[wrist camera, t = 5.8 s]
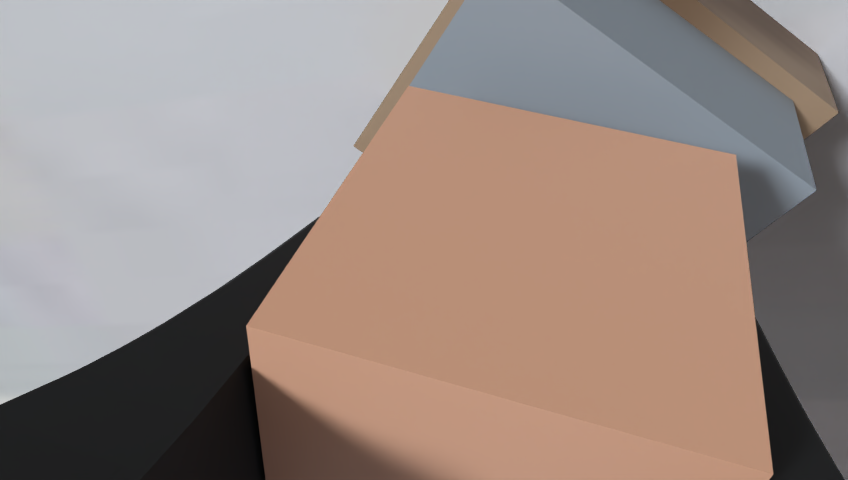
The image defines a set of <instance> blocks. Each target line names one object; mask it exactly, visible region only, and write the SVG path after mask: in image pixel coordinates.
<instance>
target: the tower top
mask: <svg viewBox="0 0 848 480" xmlns="http://www.w3.org/2000/svg"><path fill="white" fill-rule="evenodd" d="M409 86H412V87H417V88H422V89H426V90H431V91H436V92H441V93H445V94H450V95H455V96H460V97H464V98H469V99H474V100H479V101H483V102H488V103H493V104H497V105H502V106H507V107H512V108H516V109H521V110H526V111H531V112H535V113H540V114H545V115H550V116H554V117H559V118H564V119H569V120H573V121H578V122H583V123H588V124H592V125H597V126H602V127H607V128H611V129H616V130H621V131H626V132H630V133H635V134H640V135H645V136H649V137H654V138H659V139H664V140H668V141H673V142H678V143H683V144H687V145H692V146H697V147H702V148H706V149H711V150H716V151H720V152H725V153H730V154H735V155H736V159H737V168H738V176H739V185H740V193H741V202H742V210H743V219H744V227H745V236H746V242H747V241H748V240H750V239H751V238H752V237H754V236H755V235H757V234H758V233H759V232H761V231H762V230H763V229H765V228H766V227H767V226H769V225H770V224H772V223H773V222H774V221H776V220H777V219H778V218H780V217H781V216H782V215H784V214H785V213H786V212H788V211H789V210H791V209H792V208H793V207H795V206H796V205H797V204H799V203H800V202H801V201H803V200H804V199H805V198H807V197H808V196H810V195H811V194H812V193H814V192H815V191H816V186H815V182H814V178H813V175H812V171H811V167H810V163H809V159H808V156H807V152H806V148H805V144H804V140H803V136H802V133H801V129H800V125H799V121H798V117H797V114H796V110H795V106H794V102H793V100H791V99H790V98H789V97H787V96H786V95H785V94H783V93H782V92H781V91H779V90H778V89H777V88H775V87H774V86H773V85H771V84H770V83H769V82H767V81H766V80H765V79H763V78H762V77H761V76H759V75H758V74H757V73H755V72H754V71H753V70H751V69H750V68H749V67H747V66H746V65H745V64H743V63H742V62H741V61H739V60H738V59H737V58H735V57H734V56H733V55H732V54H730V53H729V52H728V51H726V50H725V49H724V48H722V47H721V46H720V45H718V44H717V43H716V42H714V41H713V40H712V39H710V38H709V37H708V36H706V35H705V34H704V33H702V32H701V31H700V30H698V29H697V28H696V27H694V26H693V25H692V24H690V23H689V22H688V21H686V20H685V19H684V18H682V17H681V16H680V15H678V14H677V13H676V12H674V11H673V10H672V9H670V8H669V7H668V6H666V5H665V4H664V3H662V2H661V1H660V0H464V2H463V3H462V5H461V7H460V8H459V10H458V11H457V13H456V14H455V16H454V17H453V19H452V20H451V22H450V24H449V25H448V27H447V28H446V30H445V31H444V33H443V34H442V36H441V37H440V39H439V40H438V42H437V44H436V45H435V47H434V48H433V50H432V51H431V53H430V54H429V56H428V57H427V59H426V61H425V62H424V64H423V65H422V67H421V68H420V70H419V71H418V73H417V74H416V76H415V78H414V79H413V81H412V82H411V84H410V85H409Z"/></svg>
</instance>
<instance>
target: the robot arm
mask: <svg viewBox="0 0 848 480" xmlns="http://www.w3.org/2000/svg"><path fill="white" fill-rule="evenodd" d="M318 219H319V217H318V218H317V219H315V220H314V221H313V222H311V223H310V224H309V225H307V226H306V227H305V228H303V229H302V230H301V231H299V232H298V233H297V234H295V235H294V236H293V237H291V238H290V239H288V240H287V241H286V242H284V243H283V244H282V245H280V246H279V247H278V248H276V249H275V250H273V251H272V252H271V253H269V254H268V255H267V256H265V257H264V258H262V259H261V260H259V261H258V262H257V263H255V264H254V265H252V266H251V267H249V268H248V269H246V270H245V271H243V272H242V273H241V274H239V275H238V276H236V277H235V278H233V279H232V280H230V281H229V282H228V283H226V284H225V285H223V286H222V287H220V288H219V289H217V290H216V291H214V292H213V293H211V294H209V295H208V296H206V297H205V298H203V299H201V300H200V301H198V302H197V303H195V304H193V305H192V306H190V307H189V308H187V309H185V310H184V311H182V312H181V313H179V314H177V315H176V316H174V317H173V318H171V319H169V320H168V321H166V322H165V323H163V324H161V325H160V326H158V327H156V328H154V329H153V330H151V331H149V332H147V333H146V334H144V335H142V336H140V337H139V338H137V339H135V340H133V341H132V342H130V343H128V344H126V345H124V346H122V347H121V348H119V349H117V350H115V351H113V352H111V353H109V354H107V355H105V356H104V357H102V358H100V359H98V360H96V361H94V362H92V363H90V364H88V365H86V366H84V367H82V368H80V369H78V370H76V371H74V372H72V373H70V374H68V375H66V376H63V377H61V378H59V379H57V380H55V381H52V382H50V383H48V384H46V385H43V386H41V387H39V388H37V389H34V390H32V391H30V392H28V393H26V394H23V395H21V396H19V397H17V398H14V399H12V400H10V401H8V402H5V403H3V404H1V405H0V480H266V479H265V472H264V464H263V456H262V448H261V440H260V432H259V424H258V416H257V408H256V400H255V392H254V384H253V376H252V368H251V360H250V352H249V344H248V336H247V328H246V325H247V324H248V322H249V321H250V319H251V318H252V316H253V315H254V313H255V312H256V310H257V309H258V308H259V306H260V305H261V303H262V302H263V300H264V299H265V297H266V296H267V294H268V293H269V291H270V290H271V288H272V287H273V285H274V284H275V282H276V281H277V279H278V278H279V276H280V275H281V273H282V272H283V271H284V269H285V268H286V266H287V265H288V263H289V262H290V260H291V259H292V257H293V256H294V254H295V253H296V251H297V250H298V248H299V247H300V245H301V244H302V242H303V241H304V239H305V238H306V236H307V235H308V234H309V232H310V231H311V229H312V228H313V226H314V225H315V223H316V222H317V220H318ZM755 321H756V330H757V338H758V347H759V356H760V364H761V373H762V381H763V390H764V398H765V407H766V415H767V424H768V432H769V441H770V450H771V458H772V467H773V475H772V477H771V478H770V479H769V480H844V478H843V476H842V475H841V473H840V471H839V470H838V468H837V467H836V465H835V463H834V461H833V460H832V458H831V456H830V454H829V453H828V451H827V449H826V448H825V446H824V444H823V442H822V441H821V439H820V437H819V435H818V434H817V432H816V430H815V429H814V427H813V425H812V423H811V422H810V420H809V418H808V416H807V415H806V413H805V411H804V409H803V407H802V405H801V404H800V402H799V400H798V398H797V396H796V394H795V393H794V391H793V389H792V387H791V385H790V383H789V381H788V379H787V378H786V376H785V374H784V372H783V370H782V368H781V366H780V364H779V362H778V360H777V358H776V357H775V355H774V353H773V351H772V349H771V347H770V345H769V343H768V341H767V339H766V337H765V335H764V333H763V331H762V329H761V327H760V325H759V323H758V322H757V320H756V318H755Z"/></svg>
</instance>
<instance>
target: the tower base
mask: <svg viewBox="0 0 848 480" xmlns="http://www.w3.org/2000/svg"><path fill="white" fill-rule="evenodd" d="M660 1H661V2H662V3H664V4H665V5H666V6H668V7H669V8H670V9H672V10H673V11H674V12H676V13H677V14H678V15H680V16H681V17H682V18H684V19H685V20H686V21H688V22H689V23H690V24H692V25H693V26H694V27H696V28H697V29H698V30H700V31H701V32H702V33H704V34H705V35H706V36H708V37H709V38H710V39H712V40H713V41H714V42H716V43H717V44H718V45H720V46H721V47H722V48H724V49H725V50H726V51H728V52H729V53H730V54H732V55H733V56H734V57H735V58H737V59H738V60H739V61H741V62H742V63H743V64H745V65H746V66H747V67H749V68H750V69H751V70H753V71H754V72H755V73H757V74H758V75H759V76H761V77H762V78H763V79H765V80H766V81H767V82H769V83H770V84H771V85H773V86H774V87H775V88H777V89H778V90H779V91H781V92H782V93H783V94H785V95H786V96H787V97H789V98H790V99H791V100H793V102H794V106H795V110H796V114H797V117H798V121H799V125H800V129H801V133H802V136H803V140H805V139H806V138H807V137H808V136H810V135H811V134H812V133H814V132H815V131H816V130H817V129H819V128H820V127H821V126H823V125H824V124H825V123H826V122H828V121H829V120H830V119H832V118H833V117H834V116H835V115H837V114H838V113H839V112H838V109H837V106H836V103H835V101H834V98H833V95H832V92H831V90H830V87H829V84H828V81H827V79H826V76H825V73H824V70H823V68H822V65H821V62H820V59H819V57H818V54H817V53H815V52H814V51H813V50H812V49H810V48H809V47H808V46H807V45H805V44H804V43H803V42H802V41H800V40H799V39H798V38H797V37H795V36H794V35H793V34H792V33H791V32H789V31H788V30H787V29H786V28H784V27H783V26H782V25H781V24H779V23H778V22H777V21H776V20H774V19H773V18H772V17H771V16H769V15H768V14H767V13H766V12H764V11H763V10H762V9H761V8H759V7H758V6H757V5H756V4H754V3H753V2H752V1H751V0H660ZM463 2H464V0H449V1H448V3H447V4H446V6H445V7H444V9H443V10H442V12H441V14H440V15H439V17H438V18H437V20H436V21H435V23H434V24H433V26H432V27H431V29H430V30H429V32H428V33H427V35H426V36H425V38H424V39H423V41H422V42H421V44H420V45H419V47H418V49H417V50H416V52H415V53H414V55H413V56H412V58H411V59H410V61H409V62H408V64H407V65H406V67H405V68H404V70H403V71H402V73H401V74H400V76H399V77H398V79H397V80H396V82H395V84H394V85H393V87H392V88H391V90H390V91H389V93H388V94H387V96H386V97H385V99H384V100H383V102H382V103H381V105H380V106H379V108H378V109H377V111H376V112H375V114H374V115H373V117H372V118H371V120H370V122H369V123H368V125H367V126H366V128H365V129H364V131H363V132H362V134H361V135H360V137H359V138H358V140H357V141H356V143H355V144H354V147H356V148H357V149H358V150H360V151H361V152H364V151H365V149H366V148H367V146H368V145H369V143H370V142H371V140H372V139H373V137H374V136H375V134H376V133H377V131H378V130H379V128H380V127H381V125H382V124H383V122H384V121H385V120H386V118H387V117H388V115H389V114H390V112H391V111H392V109H393V108H394V106H395V105H396V103H397V102H398V100H399V99H400V97H401V96H402V94H403V93H404V91H405V90H406V88H407V87H408V86H409V85H410V84H411V82H412V81H413V79H414V78H415V76H416V74H417V73H418V71H419V70H420V68H421V67H422V65H423V64H424V62H425V61H426V59H427V57H428V56H429V54H430V53H431V51H432V50H433V48H434V47H435V45H436V44H437V42H438V40H439V39H440V37H441V36H442V34H443V33H444V31H445V30H446V28H447V27H448V25H449V24H450V22H451V20H452V19H453V17H454V16H455V14H456V13H457V11H458V10H459V8H460V7H461V5H462V3H463Z"/></svg>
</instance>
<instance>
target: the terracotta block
mask: <svg viewBox="0 0 848 480" xmlns="http://www.w3.org/2000/svg"><path fill="white" fill-rule="evenodd" d="M246 328H247V336H248V344H249V352H250V360H251V368H252V376H253V384H254V392H255V400H256V408H257V416H258V424H259V432H260V440H261V448H262V456H263V464H264V472H265V479H266V480H769V479H770V478H771V477H772V475H773V467H772V458H771V450H770V441H769V432H768V424H767V415H766V407H765V398H764V390H763V381H762V373H761V364H760V356H759V347H758V338H757V330H756V321H755V313H754V304H753V296H752V287H751V279H750V270H749V262H748V253H747V244H746V236H745V227H744V219H743V210H742V202H741V193H740V185H739V176H738V168H737V159H736V155H735V154H730V153H725V152H720V151H716V150H711V149H706V148H702V147H697V146H692V145H687V144H683V143H678V142H673V141H668V140H664V139H659V138H654V137H649V136H645V135H640V134H635V133H630V132H626V131H621V130H616V129H611V128H607V127H602V126H597V125H592V124H588V123H583V122H578V121H573V120H569V119H564V118H559V117H554V116H550V115H545V114H540V113H535V112H531V111H526V110H521V109H516V108H512V107H507V106H502V105H497V104H493V103H488V102H483V101H479V100H474V99H469V98H464V97H460V96H455V95H450V94H445V93H441V92H436V91H431V90H426V89H422V88H417V87H412V86H408V87H407V88H406V90H405V91H404V93H403V94H402V96H401V97H400V99H399V100H398V102H397V103H396V105H395V106H394V108H393V109H392V111H391V112H390V114H389V115H388V117H387V118H386V120H385V121H384V122H383V124H382V125H381V127H380V128H379V130H378V131H377V133H376V134H375V136H374V137H373V139H372V140H371V142H370V143H369V145H368V146H367V148H366V149H365V151H364V152H363V154H362V155H361V157H360V158H359V159H358V161H357V162H356V164H355V165H354V167H353V168H352V170H351V171H350V173H349V174H348V176H347V177H346V179H345V180H344V182H343V183H342V185H341V186H340V188H339V189H338V191H337V192H336V194H335V195H334V196H333V198H332V199H331V201H330V202H329V204H328V205H327V207H326V208H325V210H324V211H323V213H322V214H321V216H320V217H319V219H318V220H317V222H316V223H315V225H314V226H313V228H312V229H311V231H310V232H309V234H308V235H307V236H306V238H305V239H304V241H303V242H302V244H301V245H300V247H299V248H298V250H297V251H296V253H295V254H294V256H293V257H292V259H291V260H290V262H289V263H288V265H287V266H286V268H285V269H284V271H283V272H282V273H281V275H280V276H279V278H278V279H277V281H276V282H275V284H274V285H273V287H272V288H271V290H270V291H269V293H268V294H267V296H266V297H265V299H264V300H263V302H262V303H261V305H260V306H259V308H258V309H257V310H256V312H255V313H254V315H253V316H252V318H251V319H250V321H249V322H248V324H247V325H246Z"/></svg>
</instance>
